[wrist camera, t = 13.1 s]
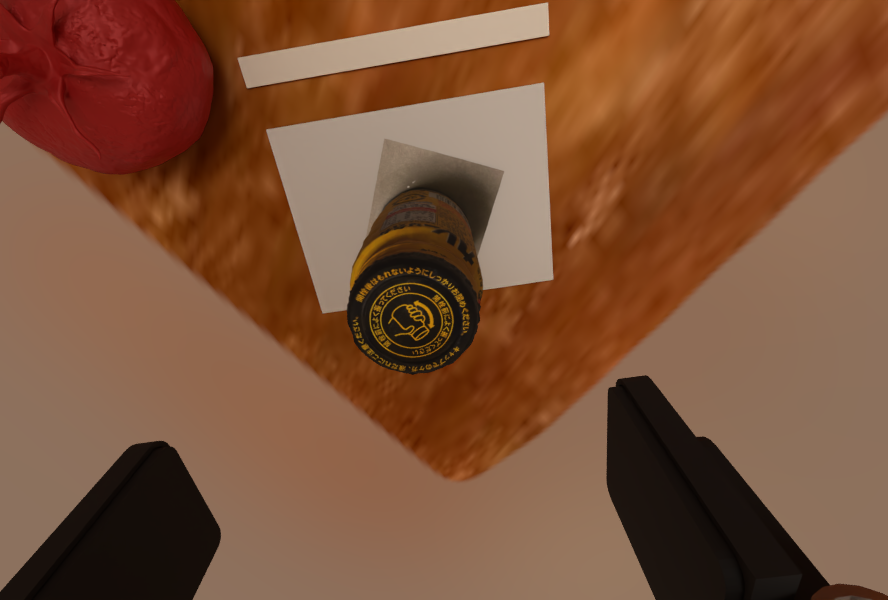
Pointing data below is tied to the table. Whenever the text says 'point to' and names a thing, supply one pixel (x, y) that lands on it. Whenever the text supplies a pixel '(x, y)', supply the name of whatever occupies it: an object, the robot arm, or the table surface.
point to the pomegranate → (104, 80)
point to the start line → (396, 45)
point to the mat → (428, 127)
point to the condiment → (421, 259)
